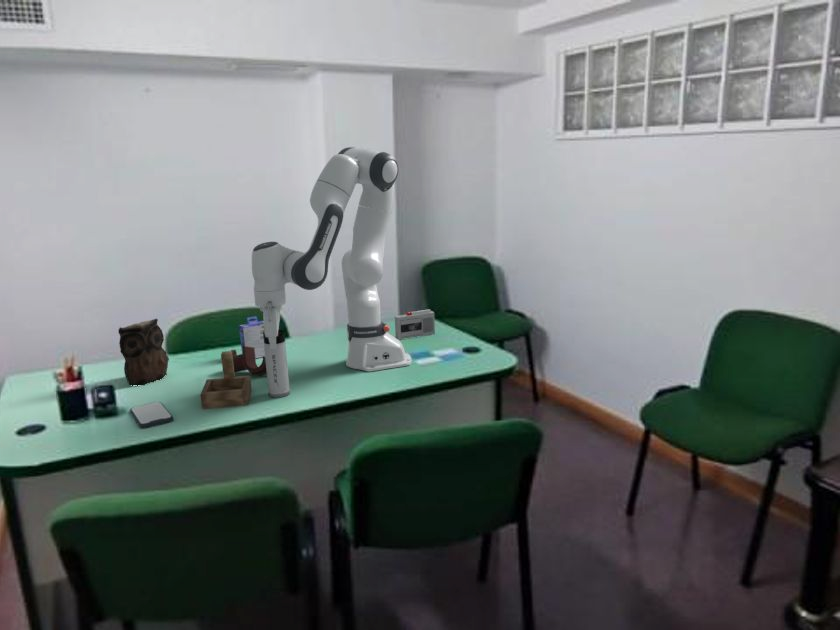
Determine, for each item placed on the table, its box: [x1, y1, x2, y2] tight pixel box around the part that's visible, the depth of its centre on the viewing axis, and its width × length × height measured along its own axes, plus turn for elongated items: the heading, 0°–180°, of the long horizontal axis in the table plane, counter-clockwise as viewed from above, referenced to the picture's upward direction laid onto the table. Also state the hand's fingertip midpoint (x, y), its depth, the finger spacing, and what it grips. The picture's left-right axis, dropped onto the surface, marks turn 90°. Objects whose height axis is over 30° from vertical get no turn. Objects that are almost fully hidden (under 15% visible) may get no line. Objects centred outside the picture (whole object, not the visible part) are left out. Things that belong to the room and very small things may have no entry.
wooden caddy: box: [199, 350, 253, 410], centre depth 190 cm, size 13×16×12 cm
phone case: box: [129, 401, 174, 429], centre depth 179 cm, size 9×2×16 cm
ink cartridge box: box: [238, 315, 265, 359], centre depth 228 cm, size 10×6×14 cm, turn 124°
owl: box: [118, 318, 170, 387], centre depth 205 cm, size 13×13×20 cm
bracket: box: [230, 346, 267, 376], centre depth 211 cm, size 6×17×10 cm, turn 79°
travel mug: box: [263, 329, 291, 399], centre depth 190 cm, size 6×7×20 cm
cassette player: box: [394, 308, 436, 340], centre depth 247 cm, size 16×3×10 cm, turn 114°
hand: (274, 343), depth 188 cm, fingers open, 8 cm apart
